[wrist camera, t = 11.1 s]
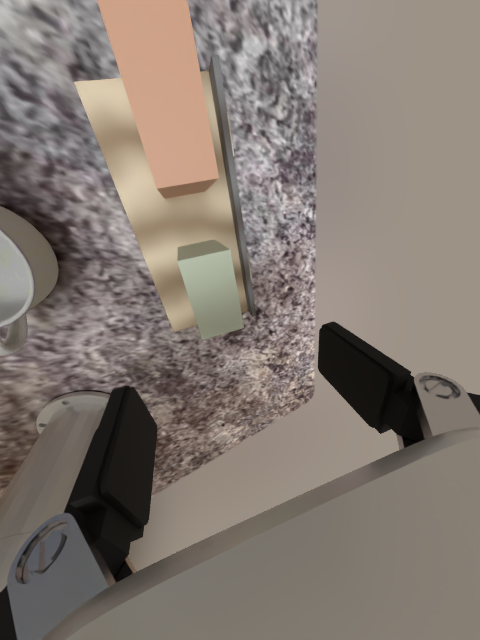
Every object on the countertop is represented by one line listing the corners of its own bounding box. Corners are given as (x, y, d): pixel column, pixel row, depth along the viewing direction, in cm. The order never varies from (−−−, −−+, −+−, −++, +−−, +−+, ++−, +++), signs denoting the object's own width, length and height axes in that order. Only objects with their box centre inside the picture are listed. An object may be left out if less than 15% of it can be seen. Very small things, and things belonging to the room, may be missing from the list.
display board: (250, 306, 32) (257, 315, 29) (173, 327, 30) (173, 339, 27) (214, 78, 19) (221, 55, 17) (80, 89, 17) (61, 66, 15)
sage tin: (215, 239, 25) (231, 249, 17) (227, 297, 29) (245, 327, 21) (177, 246, 24) (177, 261, 16) (195, 306, 28) (202, 340, 20)
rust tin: (184, 89, 18) (188, -4, 11) (206, 191, 22) (220, 177, 15) (132, 94, 18) (96, -3, 10) (164, 198, 22) (156, 188, 14)
